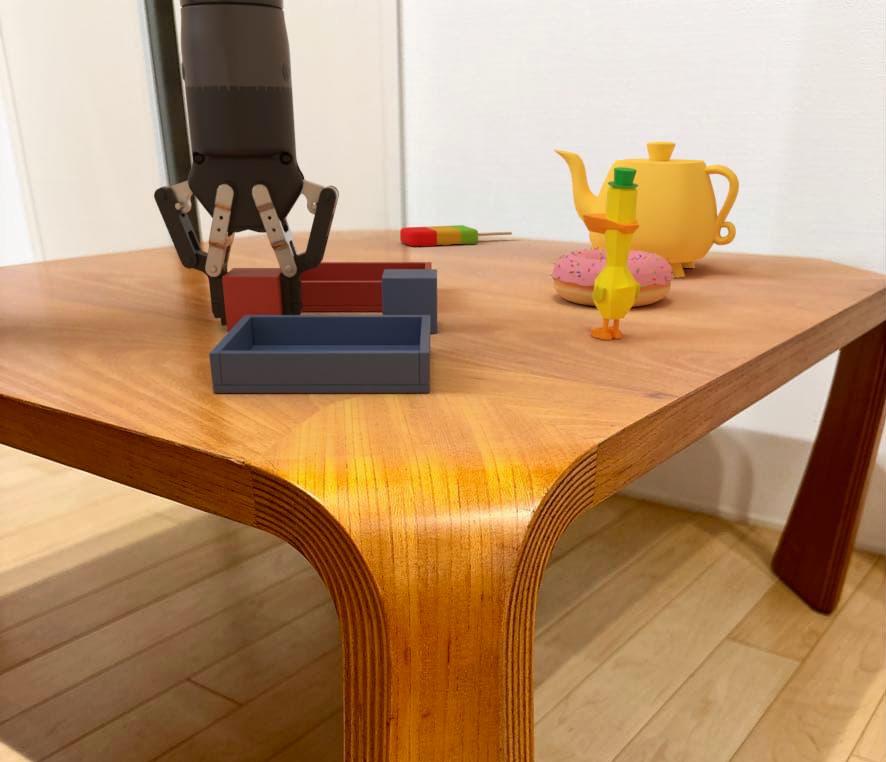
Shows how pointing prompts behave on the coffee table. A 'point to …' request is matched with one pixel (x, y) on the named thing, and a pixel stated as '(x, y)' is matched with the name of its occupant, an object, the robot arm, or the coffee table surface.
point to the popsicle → (442, 235)
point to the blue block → (410, 293)
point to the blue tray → (324, 354)
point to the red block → (251, 293)
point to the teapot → (664, 204)
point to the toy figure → (615, 253)
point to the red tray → (348, 285)
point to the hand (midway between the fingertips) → (258, 322)
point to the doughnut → (584, 266)
